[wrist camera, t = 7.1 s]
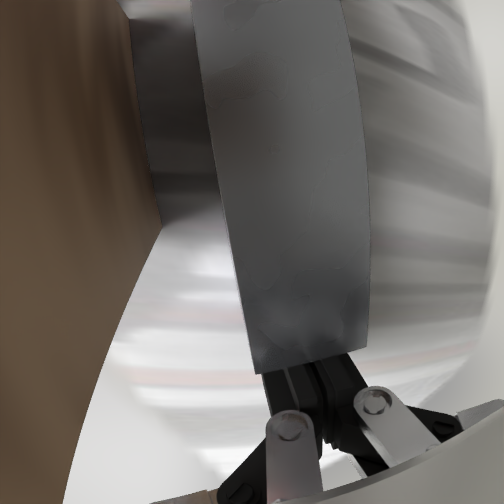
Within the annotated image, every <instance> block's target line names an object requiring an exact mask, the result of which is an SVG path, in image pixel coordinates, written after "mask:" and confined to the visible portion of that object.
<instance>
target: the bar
mask: <svg viewBox="0 0 504 504" xmlns="http://www.w3.org/2000/svg"><path fill="white" fill-rule="evenodd" d="M190 4H191V11H192V18H193V25H194V32H195V39H196V46H197V53H198V60H199V66H200V73H201V80H202V86H203V92H204V99H205V105H206V111H207V118H208V124H209V130H210V136H211V142H212V148H213V154H214V160H215V166H216V172H217V178H218V184H219V189H220V195H221V201H222V206H223V212H224V218H225V223H226V229H227V234H228V240H229V245H230V251H231V256H232V262H233V267H234V272H235V278H236V283H237V288H238V293H239V299H240V304H241V309H242V314H243V318H244V323H245V328H246V333H247V337H248V342H249V347H250V351H251V356H252V361H253V365H254V370H255V374H261V373H266V372H271V371H276V370H280V369H285V368H288V367H293V366H297V365H301V364H306V363H310V362H314V361H318V360H321V359H325V358H328V357H332V356H336V355H340V354H344V353H347V352H351V351H354V350H357V349H361V348H364V347H366V344H367V331H368V315H369V294H370V211H369V189H368V174H367V160H366V149H365V139H364V130H363V121H362V113H361V105H360V98H359V91H358V85H357V79H356V73H355V67H354V61H353V56H352V51H351V46H350V41H349V36H348V32H347V27H346V23H345V18H344V14H343V10H342V6H341V2H340V0H190Z"/></svg>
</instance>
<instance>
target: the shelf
mask: <svg viewBox="0 0 504 504" xmlns="http://www.w3.org/2000/svg"><path fill="white" fill-rule="evenodd" d="M161 229H162V224H161V219H160V215H159V210H158V206H157V201H156V197H155V192H154V187H153V183H152V178H151V173H150V168H149V163H148V157H147V152H146V146H145V141H144V135H143V129H142V123H141V117H140V111H139V104H138V97H137V90H136V83H135V75H134V67H133V59H132V50H131V40H130V29H129V18H128V17H127V15H126V14H125V13H124V11H123V10H122V8H121V7H120V5H119V4H118V2H117V1H116V0H0V504H62V503H63V499H64V494H65V490H66V486H67V481H68V477H69V473H70V469H71V465H72V461H73V457H74V453H75V450H76V447H77V443H78V440H79V436H80V433H81V429H82V426H83V423H84V419H85V416H86V413H87V410H88V407H89V404H90V401H91V398H92V395H93V392H94V389H95V386H96V383H97V380H98V377H99V374H100V372H101V369H102V366H103V363H104V361H105V358H106V355H107V353H108V350H109V347H110V345H111V342H112V340H113V337H114V335H115V332H116V330H117V327H118V325H119V322H120V320H121V317H122V315H123V312H124V310H125V308H126V305H127V303H128V300H129V298H130V296H131V294H132V291H133V289H134V287H135V284H136V282H137V280H138V278H139V275H140V273H141V271H142V269H143V267H144V264H145V262H146V260H147V258H148V256H149V254H150V252H151V249H152V247H153V245H154V243H155V241H156V239H157V237H158V235H159V233H160V231H161Z"/></svg>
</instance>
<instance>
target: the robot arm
mask: <svg viewBox="0 0 504 504" xmlns="http://www.w3.org/2000/svg"><path fill="white" fill-rule="evenodd" d="M261 375H262V380H263V385H264V389H265V394H266V398H267V402H268V406H269V410H270V414H271V418H270V419H269V421H268V423H267V425H266V438H265V439H264V440H263V441H262V442H261V443H260V444H259V445H258V447H257V448H256V449H255V450H254V451H253V452H252V453H251V454H250V455H249V456H248V458H247V459H246V460H245V461H244V462H243V463H242V464H241V465H240V466H239V467H238V468H237V469H236V470H235V471H234V472H233V473H232V474H231V475H230V476H229V477H228V478H227V479H226V480H225V481H224V482H223V483H222V485H221V486H220V487H219V488H218V489H215V490H211V491H207V490H203V491H199V492H196V493H192V494H188V495H184V496H180V497H176V498H172V499H167V500H163V501H158V502H153V503H151V504H504V400H501V399H497V400H493V401H490V402H487V403H484V404H482V405H478V406H476V407H473V408H469V409H466V410H463V411H460V412H457V413H456V414H455V416H451V415H448V414H444V413H439V412H434V411H429V410H425V409H420V408H415V407H411V406H407V405H404V404H403V402H402V401H401V400H400V399H399V398H398V397H397V396H396V395H395V394H394V393H393V392H392V391H390V390H389V389H387V388H385V387H381V386H370V387H368V386H367V384H366V382H365V381H364V379H363V377H362V376H361V374H360V373H359V371H358V369H357V368H356V366H355V365H354V363H353V361H352V360H351V358H350V356H349V355H348V353H344V354H340V355H336V356H332V357H328V358H325V359H321V360H318V361H314V362H310V363H306V364H301V365H297V366H293V367H288V368H285V369H280V370H276V371H271V372H266V373H261ZM323 439H324V441H325V443H326V444H328V443H331V446H332V448H333V450H334V449H337V448H339V451H342V452H345V453H347V456H348V458H349V460H350V461H351V463H352V464H353V466H354V467H355V468H356V470H357V472H358V473H359V475H360V476H361V477H362V479H361V480H358V481H355V482H353V483H350V484H346V485H343V486H340V487H337V488H334V489H331V490H327V491H324V492H323V486H322V479H321V472H320V465H319V459H320V458H321V456H322V441H323Z"/></svg>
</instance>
